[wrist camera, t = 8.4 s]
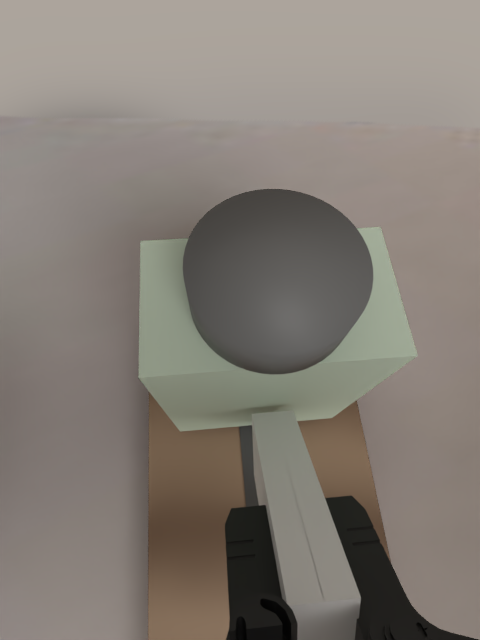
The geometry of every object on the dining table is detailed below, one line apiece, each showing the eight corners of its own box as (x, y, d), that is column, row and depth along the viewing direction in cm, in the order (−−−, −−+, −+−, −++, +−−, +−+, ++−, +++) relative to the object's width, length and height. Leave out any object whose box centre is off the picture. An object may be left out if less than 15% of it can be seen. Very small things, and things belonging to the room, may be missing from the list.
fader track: (445, 915, 14) (481, 985, 12) (158, 965, 13) (146, 1046, 11) (324, 303, 23) (333, 286, 21) (155, 315, 23) (148, 298, 21)
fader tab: (332, 422, 18) (453, 340, 8) (180, 436, 18) (121, 366, 8) (316, 334, 20) (400, 181, 10) (177, 344, 19) (127, 195, 10)
